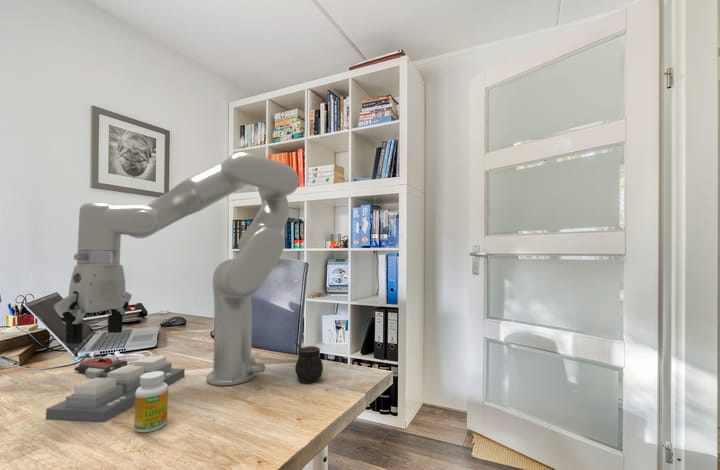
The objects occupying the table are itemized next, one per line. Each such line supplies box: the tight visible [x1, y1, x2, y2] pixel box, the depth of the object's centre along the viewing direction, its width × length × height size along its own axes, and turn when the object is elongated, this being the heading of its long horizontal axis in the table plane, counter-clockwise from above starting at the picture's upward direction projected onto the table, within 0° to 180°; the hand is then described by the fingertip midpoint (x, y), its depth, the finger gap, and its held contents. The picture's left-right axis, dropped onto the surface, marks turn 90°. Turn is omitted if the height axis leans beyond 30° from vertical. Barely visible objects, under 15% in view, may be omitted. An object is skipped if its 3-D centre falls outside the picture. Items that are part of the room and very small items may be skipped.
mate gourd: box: [293, 341, 324, 384], centre depth 88 cm, size 7×8×10 cm
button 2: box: [107, 365, 144, 382], centre depth 80 cm, size 5×5×2 cm
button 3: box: [73, 377, 116, 397], centre depth 72 cm, size 5×5×2 cm
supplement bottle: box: [133, 371, 169, 433], centre depth 65 cm, size 5×5×10 cm
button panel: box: [45, 361, 186, 423], centre depth 79 cm, size 13×25×4 cm, turn 173°
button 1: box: [134, 355, 167, 370], centre depth 87 cm, size 5×5×2 cm
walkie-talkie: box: [73, 355, 128, 379], centre depth 94 cm, size 9×4×20 cm
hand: (95, 337), depth 73 cm, fingers open, 9 cm apart
